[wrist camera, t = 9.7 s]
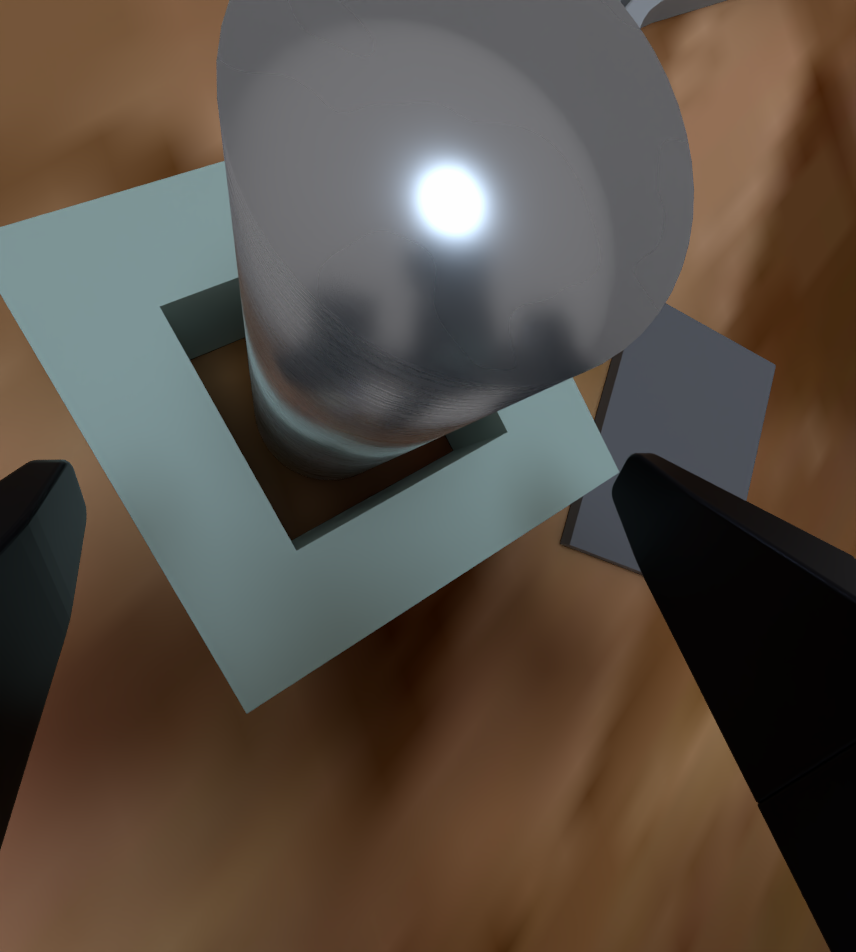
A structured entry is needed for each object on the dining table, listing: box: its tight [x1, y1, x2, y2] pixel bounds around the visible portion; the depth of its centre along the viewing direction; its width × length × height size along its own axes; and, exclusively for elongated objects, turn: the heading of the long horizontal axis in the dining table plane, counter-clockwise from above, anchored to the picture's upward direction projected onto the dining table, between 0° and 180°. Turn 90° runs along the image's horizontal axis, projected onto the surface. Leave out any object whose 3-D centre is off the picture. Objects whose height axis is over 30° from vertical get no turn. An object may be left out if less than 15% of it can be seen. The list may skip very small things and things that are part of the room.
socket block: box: [0, 161, 619, 713], centre depth 14 cm, size 11×11×4 cm
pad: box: [560, 303, 776, 575], centre depth 19 cm, size 10×7×1 cm
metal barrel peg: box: [217, 0, 694, 480], centre depth 10 cm, size 4×4×12 cm
